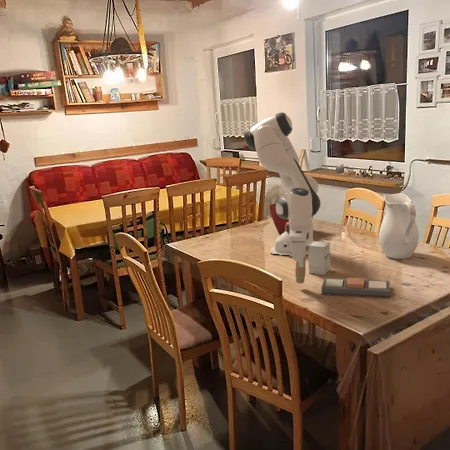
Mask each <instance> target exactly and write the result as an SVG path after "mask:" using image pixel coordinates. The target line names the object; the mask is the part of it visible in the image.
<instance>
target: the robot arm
mask: <svg viewBox="0 0 450 450" xmlns="http://www.w3.org/2000/svg"><path fill="white" fill-rule="evenodd" d="M292 131H293V122H292V119H291V118H290V116H289V115H288V114H287V113H285V112H283V111H282V112H277V113H276V114H275V115H271V116H269V117H267V118H264V119H262V120H261V121H259V122H258V123H256V124H254V125H253V126H252V127H248V128H247V129H246V130H244V133H243V137H244V139H243V140H244V143H245V145H246V146H247V147H248V149H250V150H251V151H256V154H257V158H258V161H259V163H260V164H261V166H262V167H263V168H264V169H266V170H267V171H270V172H274V173H277V174H278V175H279V177H280V185H281V187H282V189H283V190H284V191H285V192H286V194H283V195H279V196H278V197H277V198H276V200H275V203H274V204H275V211H276V214H277V215H278V216H279V217H280V218H282V219H289V222H287V223H286V226H285V232H284V233H283V234H280V235H279V236H277V238H276V239H275V240H274V241H275V242H274V245H273V246H272V247H271V248H270V252H271V253H272V254H281V255H280V256H282V255H290V256H289V257H292V260H293V261H294V262H296V261H298V263H299V267H303V266H304V262H303V259H304V257H305V263H306V260H307V256H308V251H306V247H307V245H308V246H310V244H311V243H312V242H314V241H315V240H314V224H313V218H312V216H313V217H314V216H316V215H317V213H318V212H319V210H320V208H321V199H320V197H319V195H318V194H317V193H318V191H319V183H318V182H317V180H316V178H313V176H312V175H308V174H305V173H304V171H303V169H302V168H301V166H300V163H299V162H300V158H299V156H298V154H297V151H296V150H295V148H294V146H293V144H292V142H291V140H290V138H289V135H290V134H291V133H292ZM271 253H270V254H271ZM272 254H271V255H272Z"/></svg>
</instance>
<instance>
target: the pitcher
mask: <svg viewBox="0 0 450 450" xmlns="http://www.w3.org/2000/svg"><path fill="white" fill-rule="evenodd" d="M383 199H384V202H385V204H386V212H385V215H384V216H383V220H382V221H381V225H380V228H379V233H378V234H379V235H378V239H379V246H380V248H381V250H382V252H383V253H384V255H385V256H386V257H387V258H389V259H395V260H406V259H409V258H411V257H412V256H413V255H414V253H415V251H416V249H417V247H418V244H419V236H420V235H419V229H418V226H417V222H416V218H417V217H416V214H417V212H416V211H417V210H416V207H415V205H414V203H413V202H414V201H413V200H412V199H411V198H410V196H408V195H407V194H406V193H404V192H401V193H400V192H399V193H392V194H383Z"/></svg>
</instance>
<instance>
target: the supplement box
mask: <svg viewBox="0 0 450 450" xmlns="http://www.w3.org/2000/svg"><path fill="white" fill-rule="evenodd" d="M313 241H314V242H312V243H311V244H310V246H309V250H308V255H307V256H308V273H309V274H313V273H315V274H314V275H320V276H321V275H322V276H325V275H326V274H328V272H329V271H330V270H331V251H330V242H328V241H316V240H313Z"/></svg>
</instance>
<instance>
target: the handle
mask: <svg viewBox="0 0 450 450" xmlns="http://www.w3.org/2000/svg"><path fill="white" fill-rule="evenodd" d="M308 250H309V246H308V245H307V247H306V251H308ZM303 262H304V266H303V267H299V263H298V261H295V267H294V268H295V270H294V271H295V283H297V284H304V283H305V277H306V262H305V257H304V259H303Z"/></svg>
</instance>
